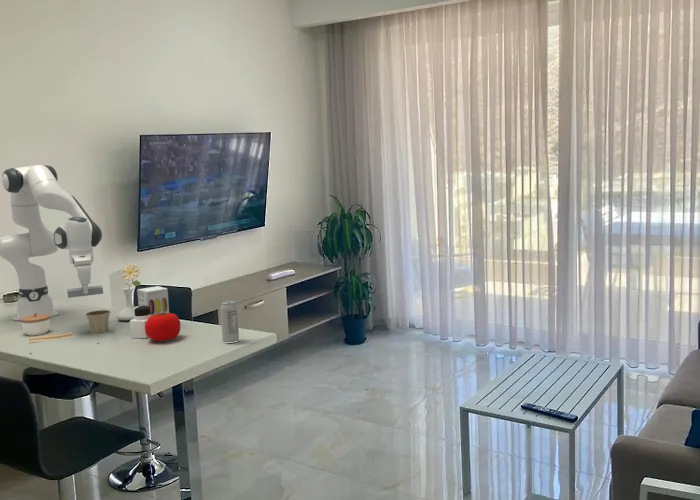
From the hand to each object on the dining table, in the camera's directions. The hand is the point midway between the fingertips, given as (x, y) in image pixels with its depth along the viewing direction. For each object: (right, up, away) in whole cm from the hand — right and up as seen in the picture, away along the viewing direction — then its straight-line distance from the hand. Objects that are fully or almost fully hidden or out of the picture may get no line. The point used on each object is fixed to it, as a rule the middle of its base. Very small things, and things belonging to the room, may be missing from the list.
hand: (85, 292), depth 266 cm
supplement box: (+26, -16, +8) cm, 31 cm away
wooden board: (-12, -19, -3) cm, 22 cm away
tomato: (+34, -18, -10) cm, 40 cm away
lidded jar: (-22, -18, +5) cm, 29 cm away
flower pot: (+4, -17, +4) cm, 18 cm away
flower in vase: (+10, -14, +27) cm, 32 cm away
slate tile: (0, -1, 0) cm, 1 cm away
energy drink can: (+62, -18, -18) cm, 67 cm away
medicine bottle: (+25, -17, -4) cm, 30 cm away
